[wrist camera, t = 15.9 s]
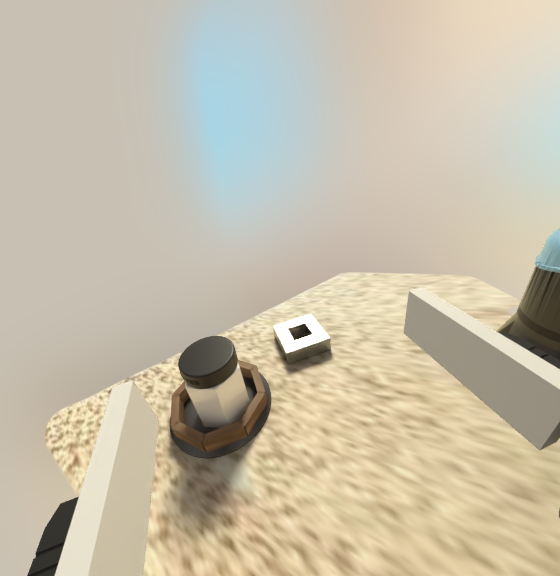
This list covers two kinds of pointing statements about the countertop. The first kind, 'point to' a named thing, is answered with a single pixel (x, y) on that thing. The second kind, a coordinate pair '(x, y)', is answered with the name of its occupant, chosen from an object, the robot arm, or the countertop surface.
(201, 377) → the jar
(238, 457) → the countertop surface
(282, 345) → the square socket
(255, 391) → the brown octagonal tray
